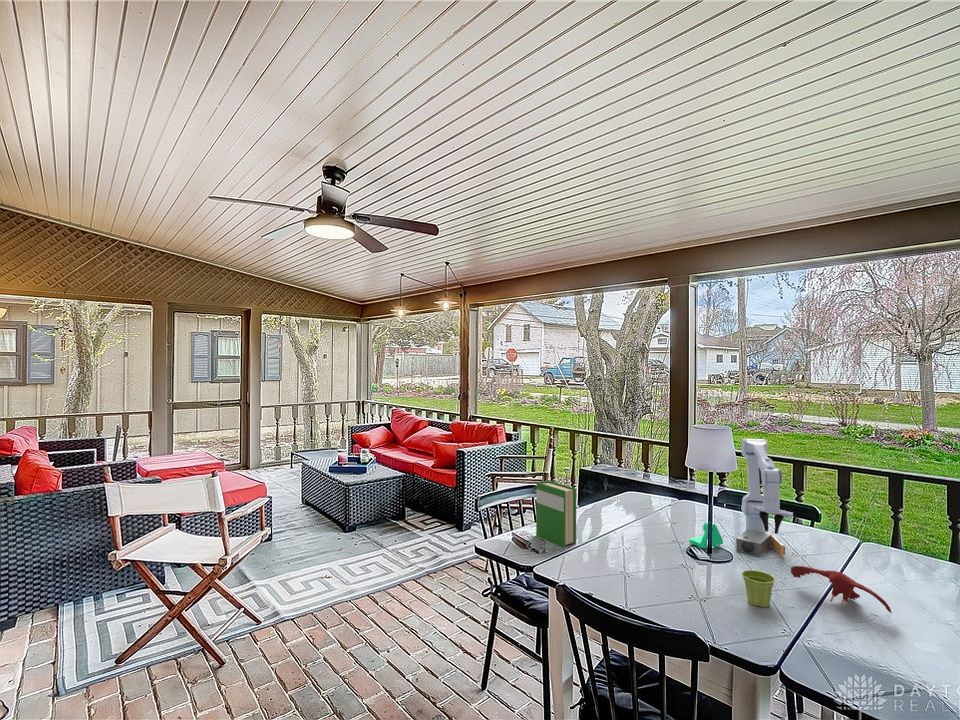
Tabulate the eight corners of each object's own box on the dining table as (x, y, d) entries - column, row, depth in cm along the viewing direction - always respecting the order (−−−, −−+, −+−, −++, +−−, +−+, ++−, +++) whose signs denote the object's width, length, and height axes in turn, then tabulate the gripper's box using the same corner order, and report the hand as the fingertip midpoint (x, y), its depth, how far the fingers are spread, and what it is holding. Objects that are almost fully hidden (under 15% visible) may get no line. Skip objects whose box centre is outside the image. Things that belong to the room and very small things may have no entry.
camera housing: (747, 540, 211) (747, 527, 211) (771, 546, 204) (771, 532, 205) (735, 550, 199) (735, 537, 199) (759, 557, 192) (759, 543, 192)
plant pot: (759, 612, 149) (759, 584, 149) (735, 598, 158) (735, 571, 158) (782, 608, 151) (782, 580, 151) (757, 594, 160) (757, 568, 160)
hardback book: (576, 544, 205) (576, 488, 206) (563, 547, 201) (563, 490, 202) (548, 532, 220) (548, 480, 221) (536, 535, 216) (536, 482, 216)
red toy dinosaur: (797, 597, 168) (780, 570, 163) (808, 575, 171) (791, 549, 166) (896, 637, 143) (879, 608, 138) (907, 611, 146) (890, 581, 141)
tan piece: (770, 545, 204) (770, 534, 204) (774, 545, 204) (774, 535, 204) (780, 556, 192) (780, 545, 192) (785, 556, 191) (785, 545, 191)
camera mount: (707, 540, 211) (707, 517, 211) (723, 546, 204) (722, 522, 204) (688, 544, 206) (688, 520, 206) (703, 550, 199) (703, 526, 199)
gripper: (748, 496, 197) (749, 529, 197) (789, 504, 187) (790, 538, 187) (753, 493, 202) (754, 526, 202) (793, 500, 192) (794, 534, 192)
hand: (771, 531), depth 195 cm, fingers open, 3 cm apart
